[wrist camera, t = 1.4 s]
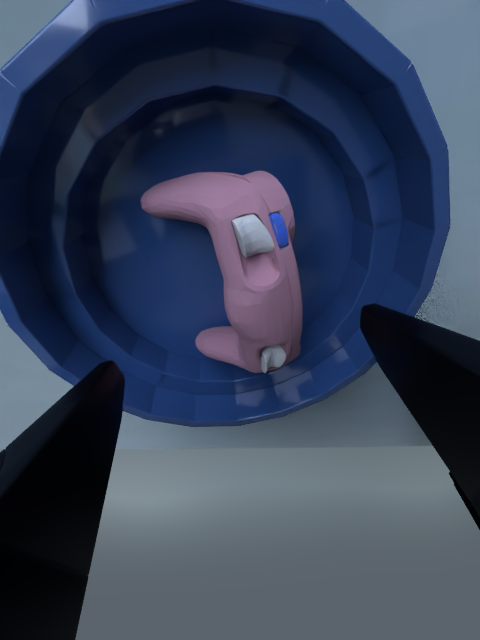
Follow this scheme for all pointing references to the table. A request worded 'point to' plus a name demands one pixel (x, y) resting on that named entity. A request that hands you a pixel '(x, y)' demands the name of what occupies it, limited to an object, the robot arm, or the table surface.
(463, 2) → the table surface
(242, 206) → the video game controller
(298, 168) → the bowl
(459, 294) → the table surface
